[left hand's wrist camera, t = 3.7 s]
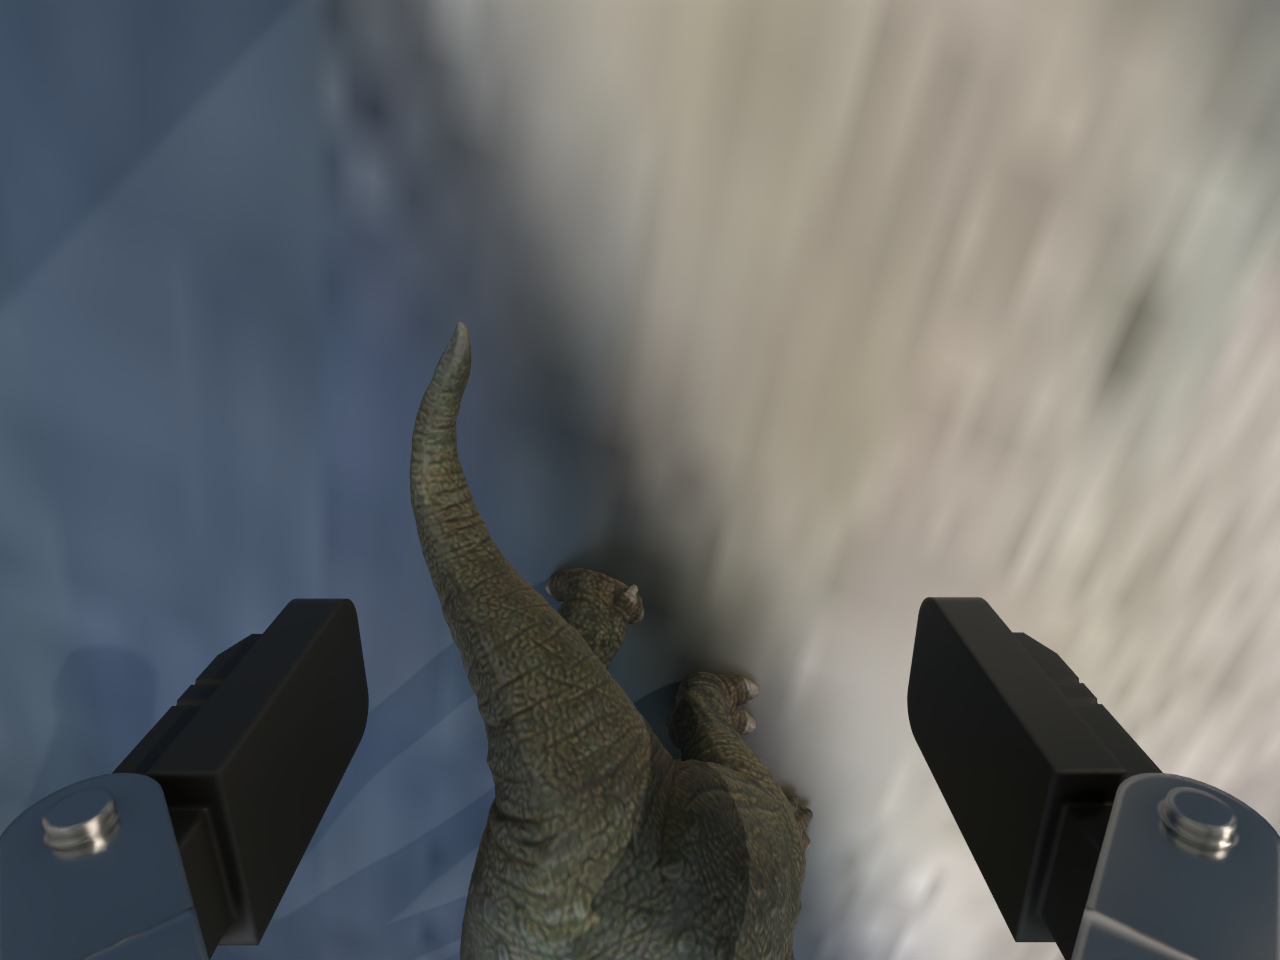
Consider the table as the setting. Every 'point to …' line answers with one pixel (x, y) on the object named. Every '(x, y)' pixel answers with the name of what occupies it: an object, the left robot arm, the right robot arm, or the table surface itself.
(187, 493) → the table surface
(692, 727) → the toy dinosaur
